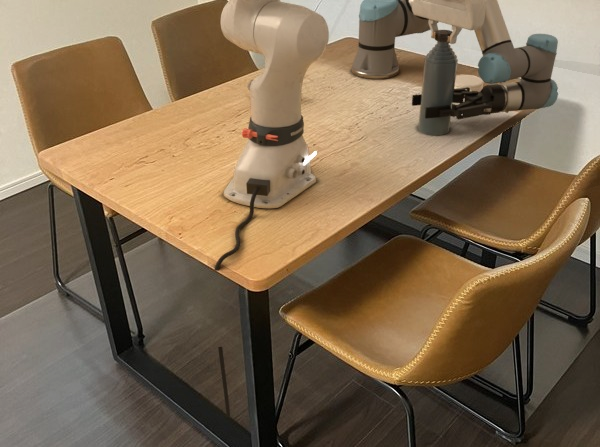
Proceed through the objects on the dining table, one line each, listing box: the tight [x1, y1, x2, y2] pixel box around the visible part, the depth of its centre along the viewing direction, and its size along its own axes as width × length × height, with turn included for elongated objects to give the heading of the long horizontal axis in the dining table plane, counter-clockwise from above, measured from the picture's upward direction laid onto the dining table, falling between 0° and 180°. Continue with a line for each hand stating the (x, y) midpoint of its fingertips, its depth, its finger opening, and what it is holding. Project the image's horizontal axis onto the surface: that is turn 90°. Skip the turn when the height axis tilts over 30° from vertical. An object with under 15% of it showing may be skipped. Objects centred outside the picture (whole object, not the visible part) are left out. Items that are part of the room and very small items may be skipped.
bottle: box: [417, 41, 459, 136], centre depth 158 cm, size 8×8×25 cm
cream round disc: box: [454, 74, 485, 92], centre depth 187 cm, size 10×10×4 cm
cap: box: [434, 29, 453, 42], centre depth 152 cm, size 4×4×2 cm
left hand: (443, 40), depth 152 cm, fingers closed on cap, 4 cm apart
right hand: (419, 106), depth 160 cm, fingers closed on bottle, 8 cm apart
